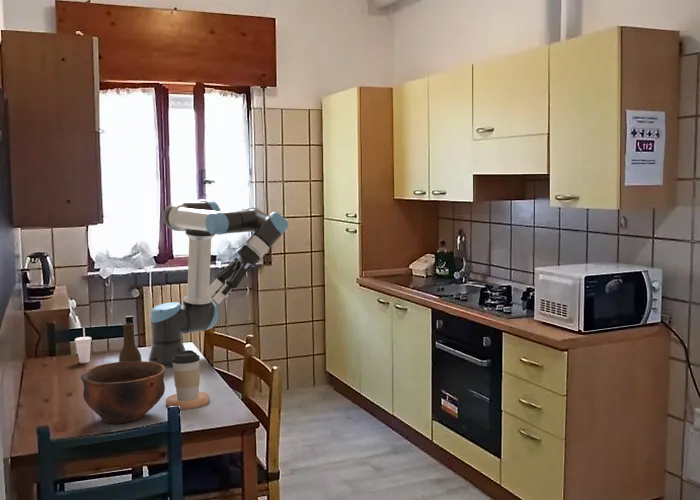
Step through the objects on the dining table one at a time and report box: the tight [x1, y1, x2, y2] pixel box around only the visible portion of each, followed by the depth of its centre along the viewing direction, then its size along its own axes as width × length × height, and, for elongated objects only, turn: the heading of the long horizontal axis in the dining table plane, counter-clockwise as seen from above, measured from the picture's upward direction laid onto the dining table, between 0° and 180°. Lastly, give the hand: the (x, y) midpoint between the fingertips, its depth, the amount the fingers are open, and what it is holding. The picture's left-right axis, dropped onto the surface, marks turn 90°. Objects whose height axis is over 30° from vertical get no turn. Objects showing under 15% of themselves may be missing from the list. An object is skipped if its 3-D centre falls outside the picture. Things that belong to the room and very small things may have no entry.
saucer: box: [165, 391, 211, 410], centre depth 241 cm, size 14×14×2 cm
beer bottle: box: [118, 322, 143, 362], centre depth 253 cm, size 8×8×24 cm
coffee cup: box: [172, 349, 201, 401], centre depth 240 cm, size 9×9×15 cm
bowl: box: [80, 360, 166, 424], centre depth 226 cm, size 25×25×15 cm
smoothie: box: [74, 327, 92, 364], centre depth 296 cm, size 6×6×14 cm
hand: (211, 298), depth 247 cm, fingers open, 13 cm apart
